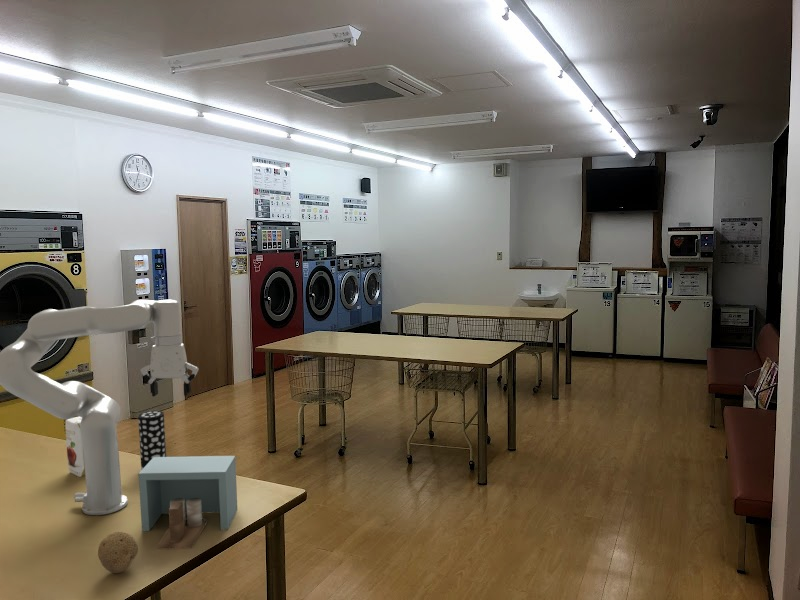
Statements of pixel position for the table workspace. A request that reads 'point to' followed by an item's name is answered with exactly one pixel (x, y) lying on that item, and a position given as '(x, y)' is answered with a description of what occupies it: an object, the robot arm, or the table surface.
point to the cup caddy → (183, 524)
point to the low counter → (188, 486)
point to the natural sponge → (117, 551)
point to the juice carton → (75, 446)
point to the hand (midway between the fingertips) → (171, 395)
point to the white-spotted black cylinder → (151, 436)
